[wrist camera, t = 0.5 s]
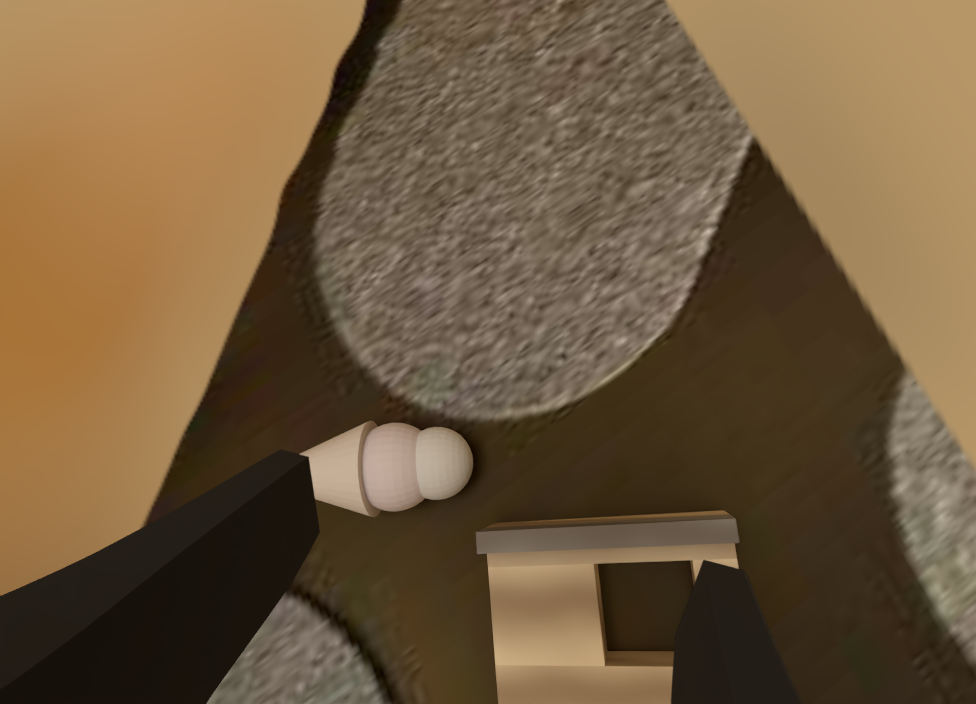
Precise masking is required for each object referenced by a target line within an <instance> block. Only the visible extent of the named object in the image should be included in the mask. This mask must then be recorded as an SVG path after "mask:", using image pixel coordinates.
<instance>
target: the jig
mask: <svg viewBox="0 0 976 704" xmlns="http://www.w3.org/2000/svg"><path fill="white" fill-rule="evenodd" d="M476 543H477V554H487V560H488V573H489V586H490V599H491V613H492V626H493V639H494V652H495V666H496V679H497V692H498V704H671V691H672V674H673V659H674V651H608V649H607V640H606V631H605V622H604V614H603V605H602V596H601V587H600V578H599V569H598V564H600V563H628V562H656V561H683V560H690V564H691V571H692V578H693V585H694V584H695V581H696V578H697V576H698V573H699V570H700V568H701V565H702V562H703V560H707V561H711V562H714V563H718V564H722V565H726V566H730V567H734V568H737V569H739V568H738V562H737V556H736V549H735V543H739V537H738V531H737V524H736V519H735V518H734V517H733V516H731V515H730V514H728V513H727V512H726V511H724V510H719V511H702V512H684V513H666V514H648V515H630V516H612V517H594V518H576V519H558V520H540V521H522V522H505V523H494V524H492V525H490V526H488V527H486V528H484V529H481V530H479V531H477V532H476Z"/></svg>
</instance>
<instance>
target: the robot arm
mask: <svg viewBox="0 0 976 704" xmlns="http://www.w3.org/2000/svg"><path fill="white" fill-rule="evenodd" d="M319 532H320V531H319V524H318V517H317V510H316V503H315V496H314V490H313V483H312V476H311V469H310V462H309V457H308V456H304V455H300V454H296V453H292V452H289V451H285V450H279V451H277V452H275V453H273V454H272V455H270V456H268V457H266V458H264V459H263V460H261V461H259V462H257V463H256V464H254V465H252V466H251V467H249V468H247V469H245V470H244V471H242V472H240V473H239V474H237V475H235V476H233V477H232V478H230V479H228V480H227V481H225V482H223V483H221V484H220V485H218V486H216V487H215V488H213V489H211V490H209V491H208V492H206V493H204V494H202V495H201V496H199V497H197V498H196V499H194V500H192V501H190V502H189V503H187V504H185V505H183V506H182V507H180V508H178V509H176V510H175V511H173V512H171V513H169V514H168V515H166V516H164V517H162V518H160V519H158V520H157V521H155V522H153V523H151V524H149V525H147V526H145V527H143V528H141V529H139V530H138V531H136V532H134V533H132V534H130V535H128V536H126V537H124V538H122V539H121V540H119V541H117V542H115V543H113V544H111V545H109V546H107V547H105V548H103V549H102V550H100V551H98V552H96V553H94V554H92V555H90V556H88V557H86V558H84V559H82V560H79V561H78V562H75V563H73V564H71V565H69V566H67V567H65V568H63V569H61V570H58V571H56V572H54V573H52V574H49V575H47V576H45V577H43V578H41V579H38V580H36V581H34V582H32V583H30V584H27V585H25V586H23V587H21V588H19V589H16V590H14V591H11V592H9V593H7V594H4V595H2V596H0V704H206V703H207V701H208V700H209V698H210V697H211V695H212V694H213V692H214V691H215V690H216V688H217V687H218V685H219V684H220V683H221V681H222V680H223V678H224V677H225V676H226V674H227V673H228V671H229V670H230V669H231V667H232V666H233V665H234V663H235V662H236V660H237V659H238V658H239V656H240V655H241V653H242V652H243V651H244V649H245V648H246V646H247V645H248V644H249V642H250V641H251V639H252V638H253V637H254V635H255V634H256V633H257V631H258V630H259V628H260V627H261V626H262V624H263V623H264V621H265V620H266V619H267V617H268V616H269V614H270V613H271V612H272V610H273V609H274V607H275V606H276V604H277V603H278V602H279V600H280V599H281V597H282V596H283V595H284V593H285V592H286V590H287V589H288V587H289V586H290V584H291V583H292V582H293V580H294V578H295V576H296V575H297V573H298V571H299V569H300V568H301V566H302V564H303V562H304V561H305V559H306V557H307V555H308V553H309V551H310V549H311V547H312V546H313V544H314V542H315V540H316V538H317V536H318V534H319ZM671 704H803V702H802V700H801V698H800V696H799V694H798V691H797V689H796V687H795V685H794V683H793V681H792V679H791V677H790V674H789V672H788V670H787V668H786V666H785V664H784V661H783V659H782V657H781V655H780V652H779V650H778V648H777V645H776V643H775V641H774V639H773V636H772V634H771V632H770V629H769V627H768V625H767V622H766V620H765V618H764V615H763V613H762V610H761V608H760V605H759V603H758V600H757V598H756V595H755V593H754V590H753V588H752V585H751V582H750V580H749V577H748V576H747V574H746V573H745V571H744V570H741V569H737V568H734V567H730V566H726V565H722V564H718V563H714V562H711V561H707V560H703V562H702V565H701V568H700V570H699V573H698V576H697V578H696V581H695V584H694V587H693V589H692V592H691V595H690V597H689V600H688V603H687V605H686V608H685V611H684V614H683V616H682V619H681V622H680V624H679V627H678V630H677V632H676V635H675V646H674V659H673V674H672V691H671Z"/></svg>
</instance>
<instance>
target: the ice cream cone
mask: <svg viewBox="0 0 976 704" xmlns="http://www.w3.org/2000/svg"><path fill="white" fill-rule="evenodd" d="M300 455H304V456H308V457H309V462H310V469H311V476H312V483H313V490H314V496H315V499H317V500H320V501H323V502H326V503H330V504H333V505H336V506H339V507H342V508H346V509H349V510H352V511H355V512H358V513H362V514H365V515H368V516H371V517H376V516H377V515H378V514H379V513H380V511H381V510H385V511H402V510H406V509H409V508H411V507H414V506H416V505H417V504H419V503H420V502H422V501H423V500H424V499H425V498H427V499H431V500H441V499H446V498H449V497H451V496H454V495H455V494H457V493H458V492H460V491H461V490H462V489H463V488H464V487H465V485H466V484H467V482H468V481H469V479H470V476H471V474H472V469H473V456H472V452H471V449H470V447H469V445H468V444H467V442H466V440H465V439H464V438H463V437H462V436H461V435H459V434H458V433H457V432H455V431H453V430H451V429H448V428H443V427H432V428H427V429H425V430H422V431H421V430H419V429H418V428H416V427H414V426H411V425H408V424H404V423H388V424H384V425H381V426H379V427H378V426H377V425H376V423H374V422H373V421H369V422H366V423H364V424H362V425H360V426H358V427H356V428H354V429H351V430H349V431H347V432H345V433H343V434H341V435H339V436H337V437H335V438H332V439H330V440H328V441H326V442H324V443H322V444H320V445H318V446H315V447H313V448H311V449H309V450H307V451H305V452H303V453H301V454H300Z"/></svg>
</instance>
